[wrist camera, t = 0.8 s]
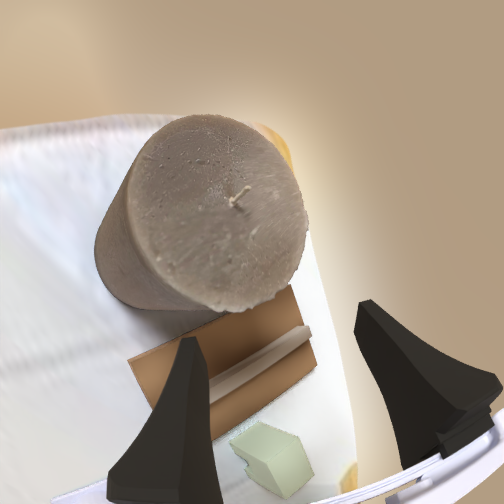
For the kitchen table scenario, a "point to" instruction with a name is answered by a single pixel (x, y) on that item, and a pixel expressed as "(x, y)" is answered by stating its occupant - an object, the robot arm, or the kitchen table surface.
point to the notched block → (273, 459)
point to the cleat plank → (239, 359)
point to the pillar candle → (203, 220)
